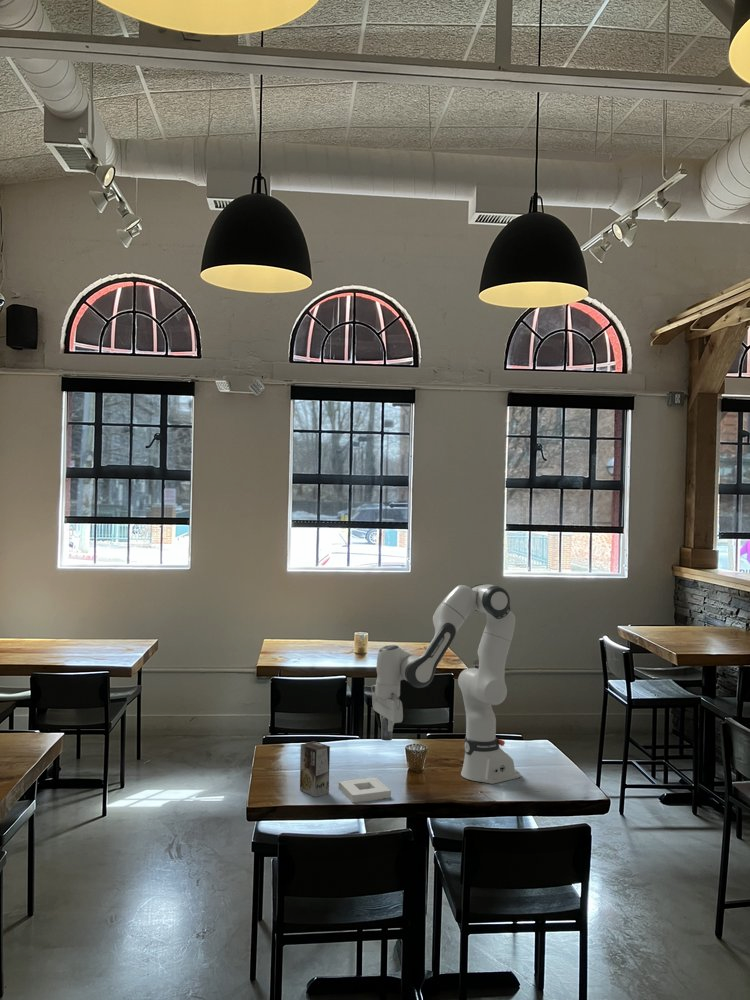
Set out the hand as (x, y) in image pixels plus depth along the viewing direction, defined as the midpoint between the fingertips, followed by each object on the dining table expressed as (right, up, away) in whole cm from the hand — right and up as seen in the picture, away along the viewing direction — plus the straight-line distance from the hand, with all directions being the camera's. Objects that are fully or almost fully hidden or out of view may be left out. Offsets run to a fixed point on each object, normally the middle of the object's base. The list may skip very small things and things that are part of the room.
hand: (386, 728), depth 272 cm
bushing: (0, -4, 0) cm, 4 cm away
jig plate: (-8, -19, -12) cm, 24 cm away
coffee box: (-26, -19, -12) cm, 34 cm away
